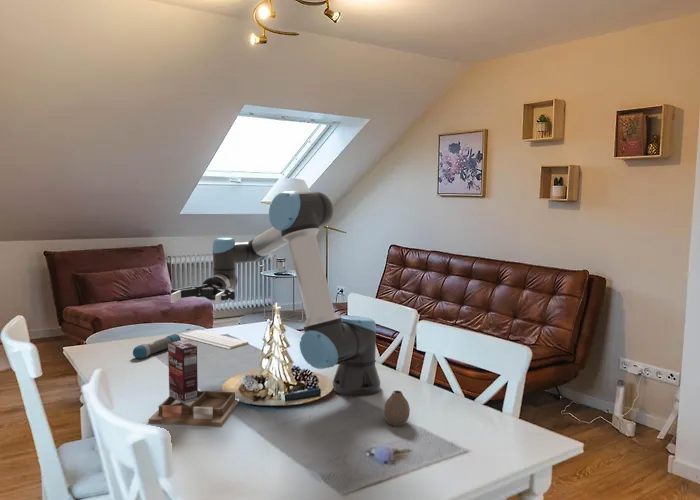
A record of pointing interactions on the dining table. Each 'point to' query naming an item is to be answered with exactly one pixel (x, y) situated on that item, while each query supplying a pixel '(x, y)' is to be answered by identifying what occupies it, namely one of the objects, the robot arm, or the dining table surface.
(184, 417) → the organiser board
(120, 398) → the dining table surface
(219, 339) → the baseboard molding
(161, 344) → the grey and blue cylinder
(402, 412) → the vase
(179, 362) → the supplement box
